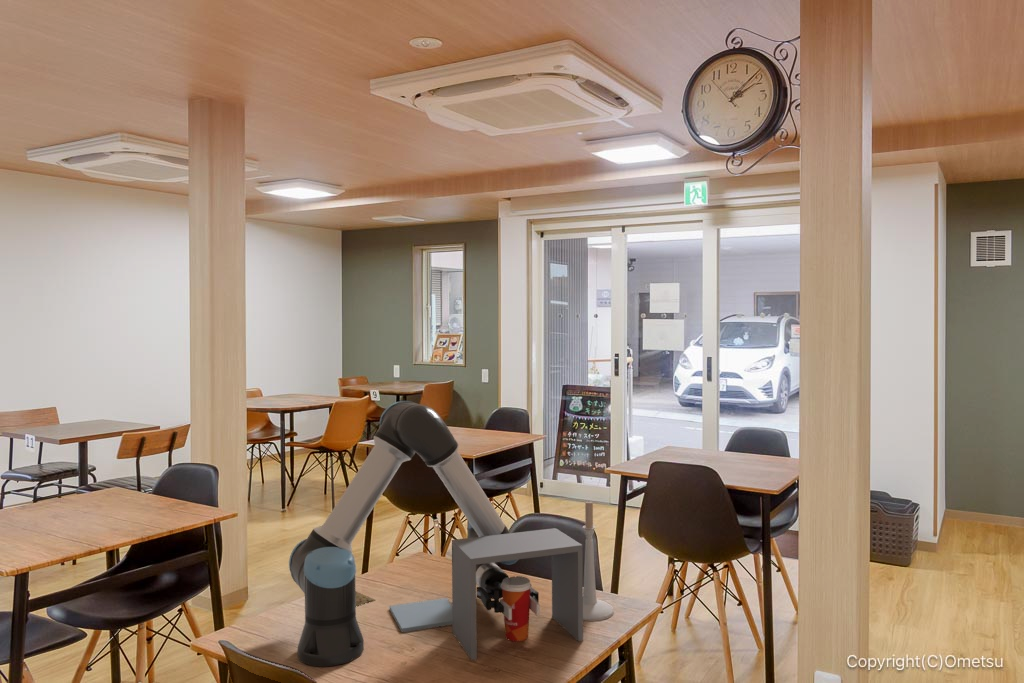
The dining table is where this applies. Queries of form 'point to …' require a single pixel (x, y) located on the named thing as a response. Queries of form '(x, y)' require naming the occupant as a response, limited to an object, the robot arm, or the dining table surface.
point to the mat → (422, 614)
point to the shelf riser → (512, 548)
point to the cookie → (362, 599)
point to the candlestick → (592, 575)
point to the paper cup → (517, 606)
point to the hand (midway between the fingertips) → (524, 612)
